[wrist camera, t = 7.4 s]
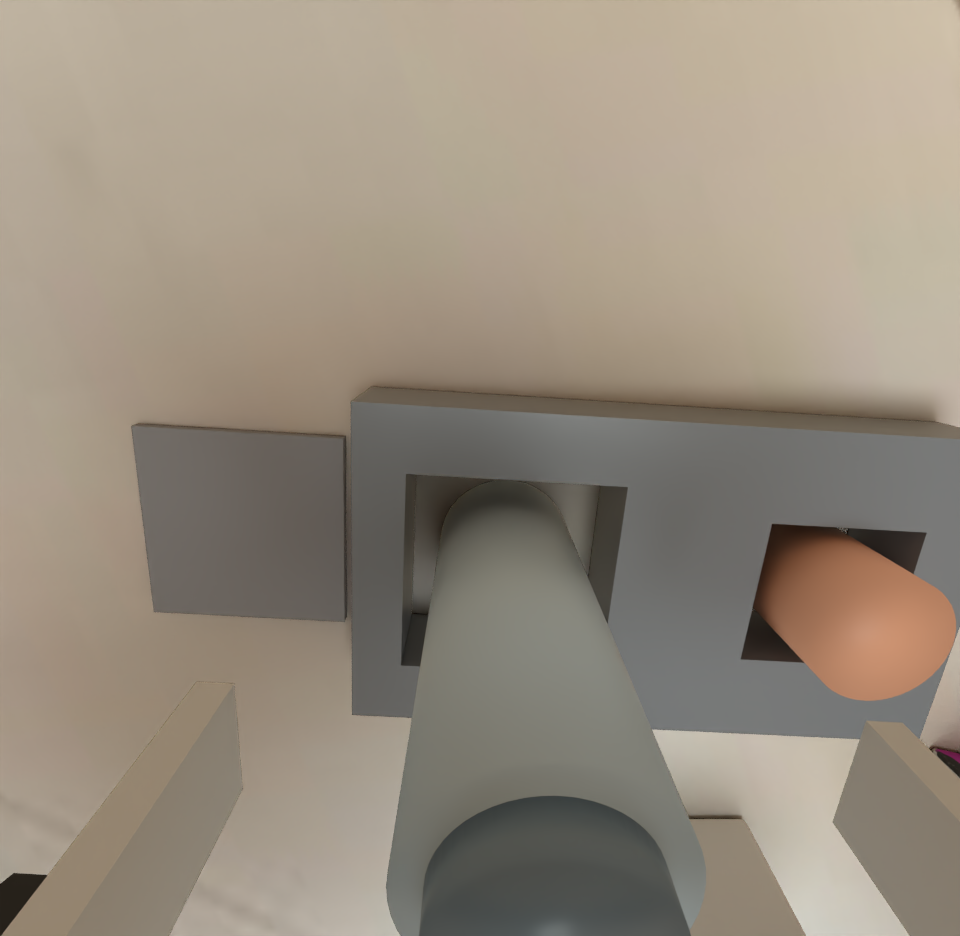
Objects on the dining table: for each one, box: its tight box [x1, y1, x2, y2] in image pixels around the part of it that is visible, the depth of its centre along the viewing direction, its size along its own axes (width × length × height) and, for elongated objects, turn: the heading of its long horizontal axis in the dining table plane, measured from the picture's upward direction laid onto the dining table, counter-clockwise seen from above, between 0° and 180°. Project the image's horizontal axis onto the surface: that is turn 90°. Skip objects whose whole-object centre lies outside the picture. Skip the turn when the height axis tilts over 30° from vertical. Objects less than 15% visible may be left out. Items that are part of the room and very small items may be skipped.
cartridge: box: [386, 480, 706, 936], centre depth 15 cm, size 5×5×15 cm
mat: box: [131, 424, 347, 622], centre depth 22 cm, size 8×8×1 cm
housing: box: [351, 387, 960, 739], centre depth 21 cm, size 22×12×4 cm, turn 86°
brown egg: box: [753, 524, 956, 701], centre depth 19 cm, size 4×4×6 cm
